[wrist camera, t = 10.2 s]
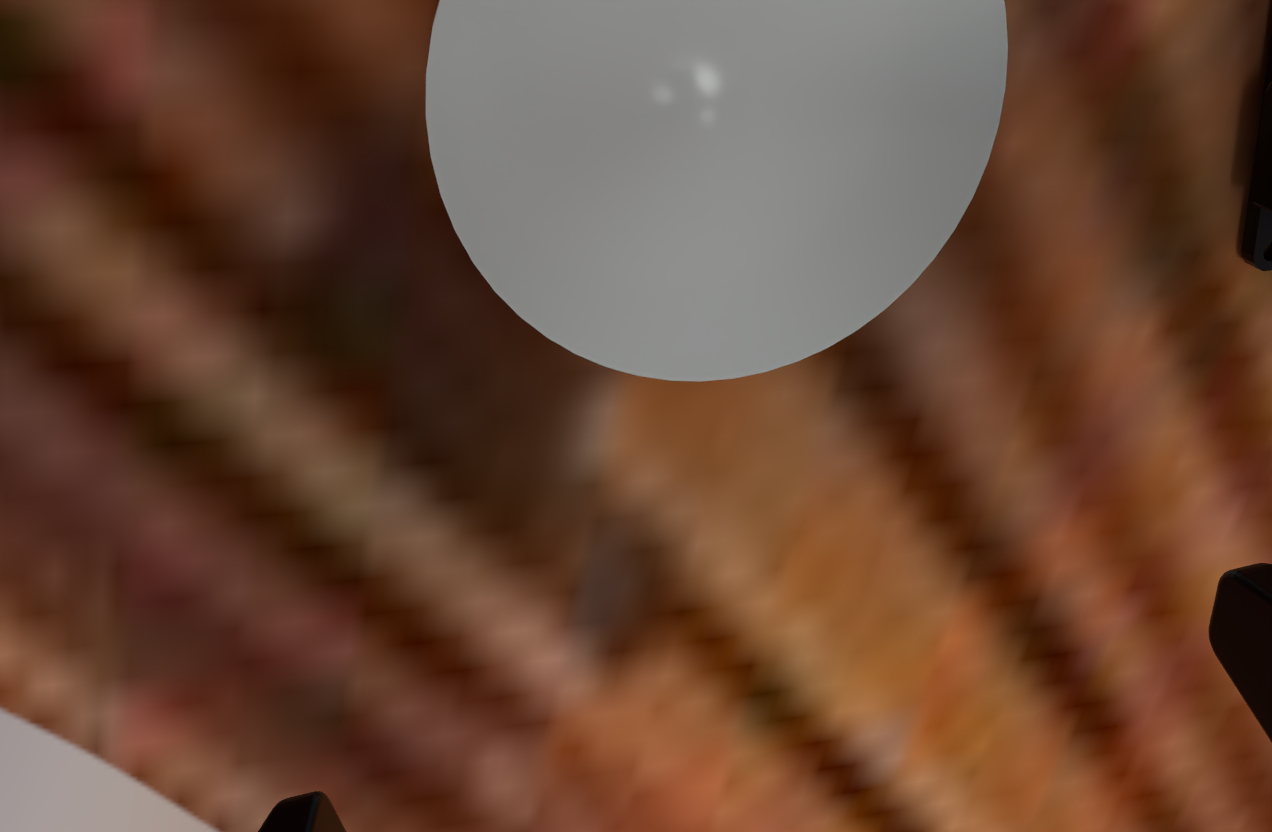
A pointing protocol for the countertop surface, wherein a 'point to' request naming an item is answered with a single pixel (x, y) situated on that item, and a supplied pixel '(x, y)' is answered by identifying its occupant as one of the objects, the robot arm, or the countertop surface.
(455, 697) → the countertop surface
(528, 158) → the white round plate
